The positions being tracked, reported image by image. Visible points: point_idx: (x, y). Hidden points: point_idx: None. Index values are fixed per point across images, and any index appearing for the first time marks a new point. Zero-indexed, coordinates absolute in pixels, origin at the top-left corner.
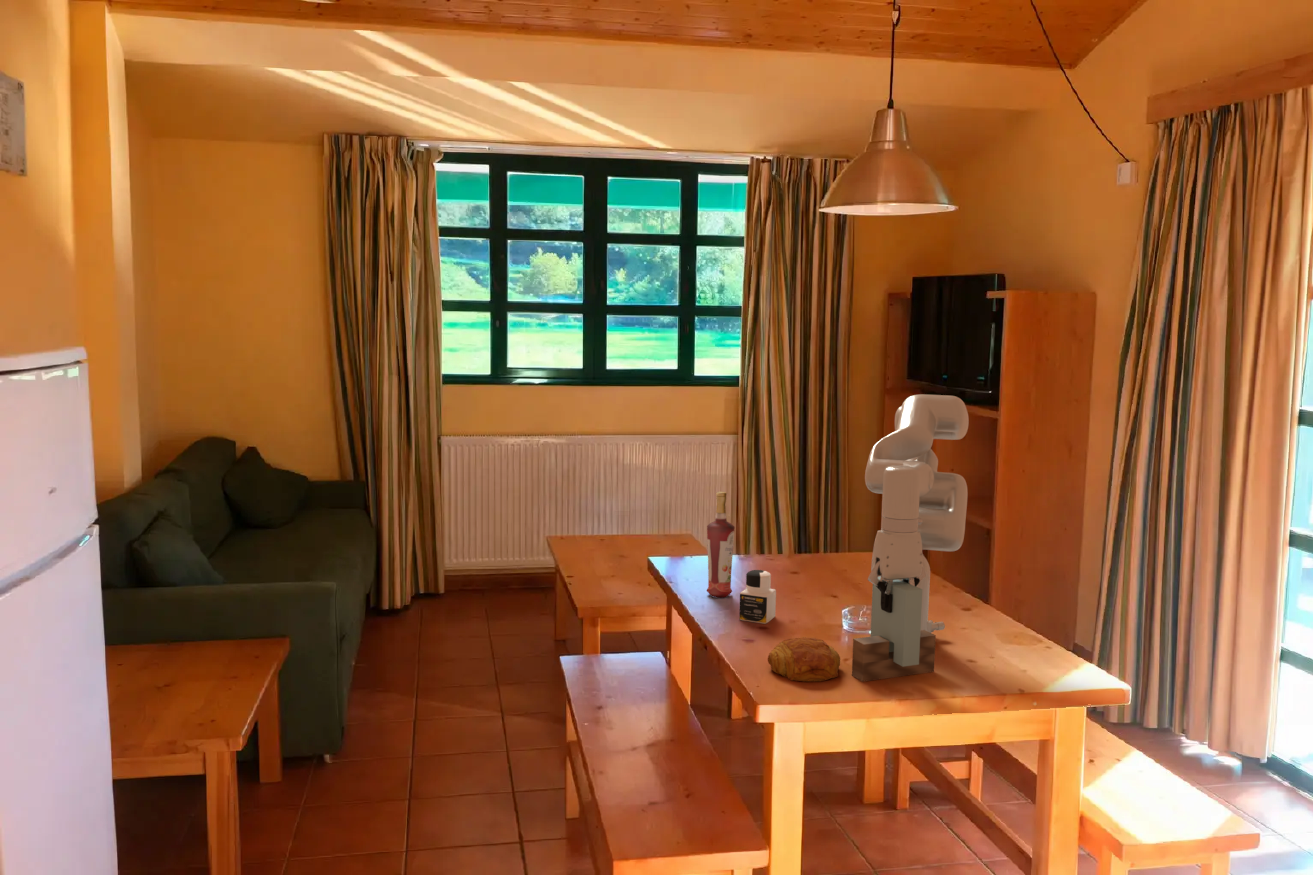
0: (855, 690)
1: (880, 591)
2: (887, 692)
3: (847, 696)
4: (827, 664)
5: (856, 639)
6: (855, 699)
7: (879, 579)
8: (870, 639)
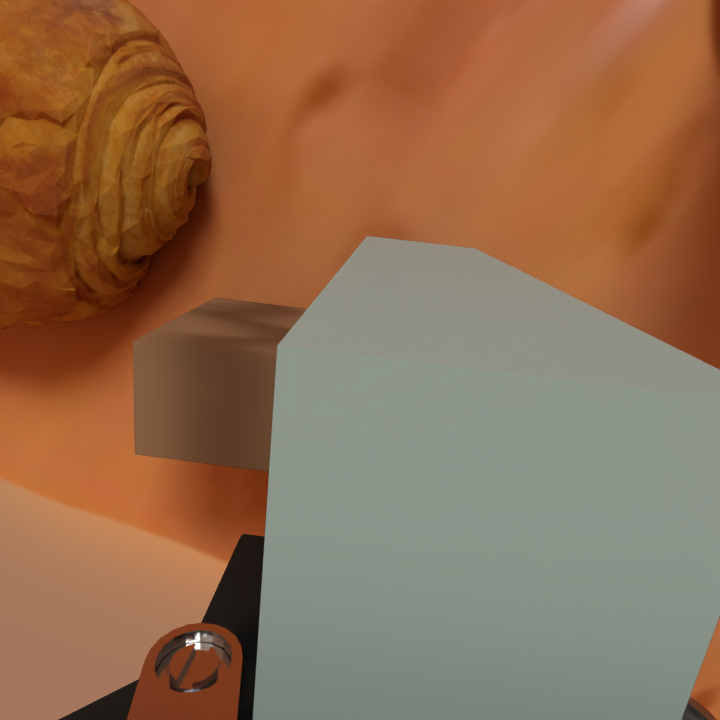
0: (131, 439)
1: (184, 645)
2: (236, 507)
3: (70, 470)
4: (21, 321)
5: (144, 362)
6: (83, 504)
7: (273, 589)
8: (228, 403)
